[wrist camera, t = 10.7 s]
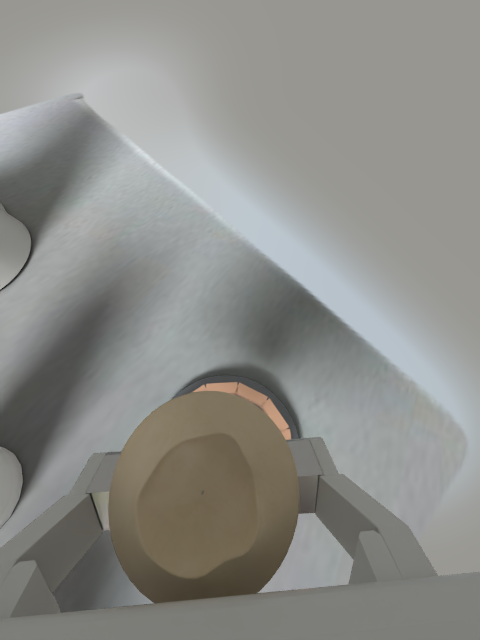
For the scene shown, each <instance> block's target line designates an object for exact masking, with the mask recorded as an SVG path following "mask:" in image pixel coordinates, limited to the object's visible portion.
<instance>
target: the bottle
mask: <svg viewBox="0 0 480 640" xmlns="http://www.w3.org/2000/svg"><path fill="white" fill-rule="evenodd" d="M22 484H23V477H22V468H21V464H20V463H19V461H18V459H17V458H16V456H15V454H14V453H12V452H10V451H9V450H7V449H6V448H4V447H0V528H1V527H2V526H3V524H4V523H5V522H6V521H7V520H8V519H9V518H10V516H11V514H12V512H13V510H14V508H15V506H16V504H17V502H18V500H19V498H20V493H21V488H22Z"/></svg>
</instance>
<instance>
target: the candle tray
mask: <svg viewBox="0 0 480 640" xmlns="http://www.w3.org/2000/svg"><path fill="white" fill-rule="evenodd" d="M199 391H220V392H226V393H230V394H234V395H237V396H239V397H241V398H244V399H246V400H248V401H249V402H251V403H253V404H254V405H256V406H257V407H258V408H260V409H261V410H262V411H264V412H265V413H266V414H267V415H268V416H269V417H270V418H271V419H272V420H273V422H274V423H275V424H276V426H277V427H278V428H279V429H280V431H281V433H282V434H283V436H284V438H285V439H286V440H289V439H299V437H298V433H297V430H296V427H295V424H294V422H293V420H292V418H291V416H290V414H289V412H288V411H287V409H286V407H285V406H284V405H283V404H282V402H281V401H280V400H279V399H278V398H277V397H276V396H275V395H274V394H273V393H272V392H271V391H269V390H268V389H267V388H266V387H264V386H262V385H261V384H259V383H257V382H255V381H253V380H250V379H247V378H244V377H240V376H233V375H219V376H212V377H208V378H204V379H202V380H199V381H197V382H195V383H193V384H191V385H189V386H187V387H186V388H185V389H183V390H182V391H180V392H179V393H178V394H177V395H176V396H175V397H174V398H177V397H179V396H182V395H185V394H189V393H192V392H199ZM174 398H173V399H174Z"/></svg>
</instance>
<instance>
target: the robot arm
mask: <svg viewBox="0 0 480 640" xmlns="http://www.w3.org/2000/svg"><path fill="white" fill-rule="evenodd" d="M30 248H31V238H30V234H29V232H28V230H27V228H26V227H25V226H24V224H22V223H21V222H20V221H19V220H17V219H16V218H14V217H13V216H11V215H9V214H8V213H7V212H6V211H5V209H4V207H3V205H2V204H1V203H0V289H2V288H3V287H4V286H6V285H7V284H8V283H9V282H10V281H11V280H12V279H13V278H14V277H15V276H16V275H17V274H18V273H19V272H20V270H21V269H22V267H23V266H24V264H25V262H26V261H27V258H28V256H29V253H30ZM286 441H287V443H288V446H289V448H290V450H291V453H292V456H293V459H294V462H295V465H296V470H297V475H298V482H299V512H298V514H302V513H315V514H316V515H317V517H318V518H319V519H320V520H321V521H322V523H323V524H324V525H325V526H326V527H327V529H328V530H329V531H330V532H331V533H332V534H333V536H334V537H335V538H336V539H337V540H338V542H339V543H340V544H341V545H342V546H343V548H344V549H345V550H346V551H347V552H348V553H349V555H350V556H351V557H352V558H353V559H354V561H353V566H352V571H351V576H350V580H349V585H339V586H329V587H319V588H309V589H298V590H288V591H278V592H267V593H257V594H246V595H236V596H226V597H215V598H205V599H195V600H185V601H174V602H164V603H154V604H144V605H134V606H123V607H113V608H103V609H93V610H83V611H72V612H62V613H61V611H60V607H59V605H58V603H57V601H56V600H55V598H54V596H53V594H52V593H53V592H54V591H55V590H56V588H57V587H58V586H59V585H60V584H61V582H62V581H63V580H64V579H65V578H66V576H67V575H68V574H69V573H70V571H71V570H72V569H73V568H74V567H75V565H76V564H77V563H78V562H79V561H80V559H81V558H82V557H83V556H84V554H85V553H86V552H87V551H88V550H89V548H90V547H91V546H92V545H93V544H94V542H95V541H96V540H97V539H98V538H99V536H100V535H101V534H102V531H105V530H110V527H109V515H108V505H109V492H110V486H111V480H112V477H113V473H114V470H115V466H116V464H117V461H118V459H119V456H120V454H121V452H107V453H94V454H93V455H92V456H91V457H90V458H89V460H88V462H87V464H86V465H85V467H84V469H83V471H82V473H81V474H80V476H79V478H78V480H77V481H76V483H75V485H74V487H73V489H72V490H71V492H70V494H69V495H68V496H63V497H62V498H61V499H60V500H59V501H57V502H56V503H55V504H54V505H52V506H51V507H50V508H49V509H48V510H46V511H45V512H44V513H43V514H41V515H40V516H39V517H38V518H37V519H35V520H34V521H33V522H32V523H30V524H29V525H28V526H27V527H26V528H24V529H23V530H22V531H21V532H19V533H18V534H17V535H16V536H15V537H13V538H12V539H11V540H10V541H8V542H7V543H6V544H5V545H4V546H2V547H1V548H0V640H480V572H473V573H462V574H452V575H443V576H442V575H441V576H438V575H437V573H436V571H435V570H434V568H433V567H432V565H431V563H430V561H429V560H428V558H427V557H426V555H425V553H424V552H423V550H422V548H421V546H420V545H419V543H418V541H417V540H416V538H415V536H414V535H413V533H412V531H411V530H410V528H409V527H408V526H407V525H406V524H405V523H404V522H402V521H401V520H400V519H399V518H397V517H396V516H395V515H394V514H392V513H391V512H390V511H389V510H387V509H386V508H385V507H384V506H382V505H381V504H380V503H379V502H377V501H376V500H375V499H374V498H372V497H371V496H370V495H369V494H367V493H366V492H365V491H364V490H362V489H361V488H360V487H359V486H357V485H356V484H355V483H354V482H352V481H351V480H350V479H349V478H347V477H346V476H345V475H344V474H339V473H338V471H337V469H336V467H335V465H334V462H333V460H332V458H331V456H330V454H329V451H328V449H327V447H326V445H325V443H324V441H323V439H322V438H321V437H314V438H301V439H289V440H286Z"/></svg>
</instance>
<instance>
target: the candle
mask: <svg viewBox="0 0 480 640" xmlns="http://www.w3.org/2000/svg"><path fill="white" fill-rule="evenodd" d="M298 512H299V482H298V475H297V470H296V465H295V462H294V459H293V456H292V453H291V450H290V448H289V446H288V443H287V441H286V439H285V438H284V436H283V434H282V433H281V431H280V429H279V428H278V427H277V426H276V424H275V423H274V422H273V420H272V419H271V418H270V417H269V416H268V415H267V414H266V413H265V412H264V411H262V410H261V409H260V408H258V407H257V406H256V405H254V404H253V403H251V402H249V401H248V400H246V399H244V398H241V397H239V396H237V395H234V394H230V393H226V392H220V391H199V392H192V393H189V394H185V395H182V396H179V397H177V398H174V399H172V400H170V401H168V402H166V403H165V404H163V405H161V406H160V407H159V408H157V409H156V410H154V411H153V412H152V413H151V414H150V415H149V416H148V417H146V418H145V419H144V420H143V421H142V422H141V424H140V425H139V426H138V427H137V428H136V429H135V431H134V432H133V434H132V435H131V436H130V438H129V439H128V441H127V443H126V444H125V446H124V448H123V450H122V452H121V454H120V456H119V459H118V461H117V464H116V466H115V470H114V473H113V477H112V480H111V486H110V492H109V505H108V515H109V527H110V533H111V539H112V542H113V546H114V549H115V552H116V555H117V557H118V559H119V562H120V564H121V566H122V568H123V570H124V571H125V573H126V574H127V576H128V577H129V579H130V581H131V582H132V583H133V584H134V585H135V586H136V587H137V589H138V590H139V591H140V592H141V593H142V594H143V595H145V596H146V597H147V598H148V599H150V600H151V601H152V602H154V603H164V602H174V601H185V600H195V599H205V598H215V597H226V596H236V595H246V594H256V593H258V592H259V591H260V590H261V589H262V588H263V587H264V586H265V585H266V584H267V583H268V582H269V581H270V579H271V578H272V577H273V575H274V574H275V573H276V571H277V570H278V568H279V567H280V565H281V563H282V562H283V560H284V558H285V556H286V554H287V552H288V549H289V547H290V544H291V542H292V539H293V536H294V532H295V528H296V525H297V518H298Z"/></svg>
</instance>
